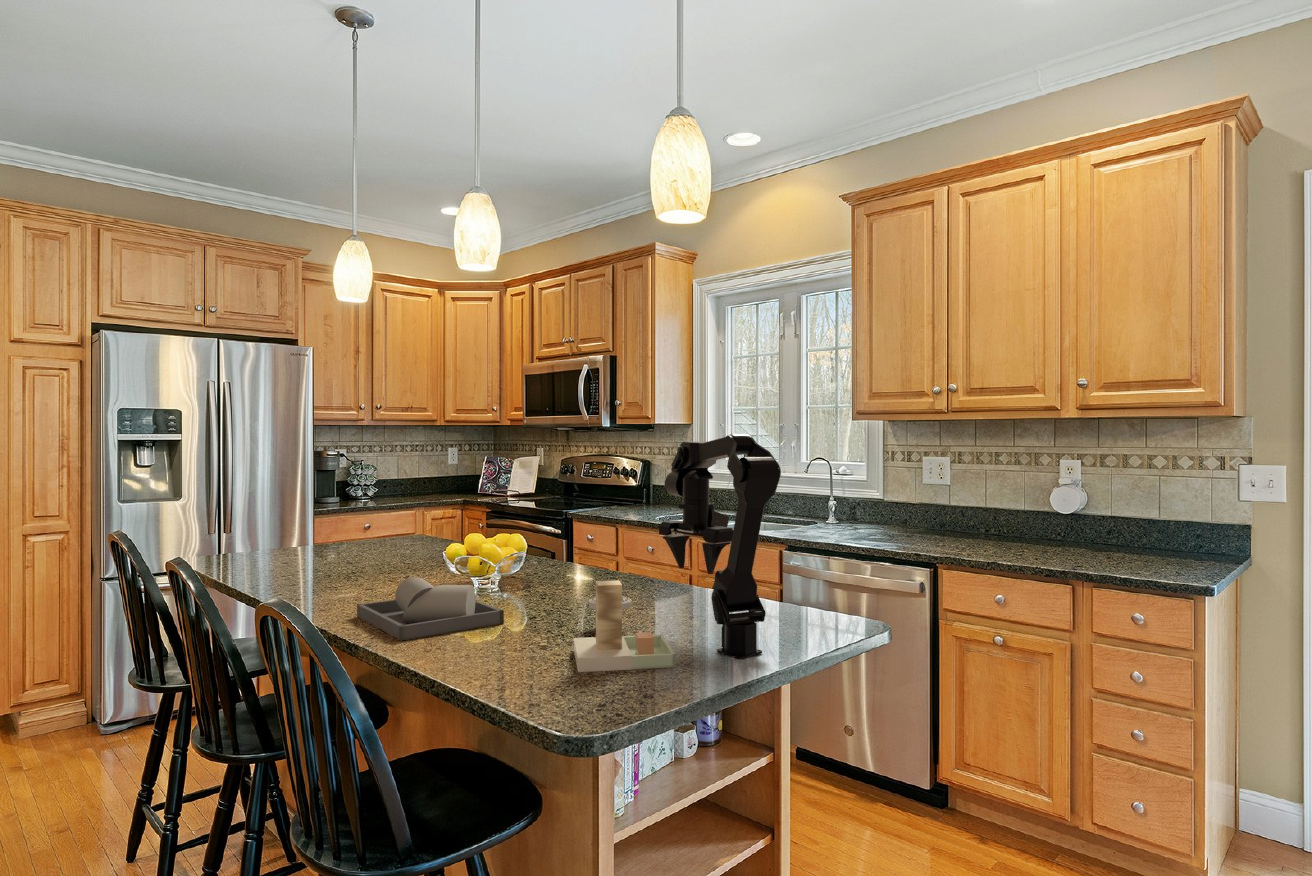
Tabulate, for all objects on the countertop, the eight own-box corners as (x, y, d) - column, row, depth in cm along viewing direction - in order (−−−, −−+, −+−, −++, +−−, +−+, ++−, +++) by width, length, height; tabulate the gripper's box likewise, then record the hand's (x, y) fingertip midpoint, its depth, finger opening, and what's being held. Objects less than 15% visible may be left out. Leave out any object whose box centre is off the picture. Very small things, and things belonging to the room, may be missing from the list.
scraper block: (619, 642, 148) (619, 580, 148) (622, 648, 144) (622, 584, 144) (595, 643, 147) (595, 581, 147) (597, 650, 143) (597, 585, 143)
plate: (623, 648, 153) (623, 636, 153) (632, 669, 139) (632, 655, 139) (573, 650, 151) (573, 638, 151) (577, 672, 138) (577, 658, 138)
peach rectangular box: (635, 653, 148) (650, 653, 149) (638, 659, 144) (653, 658, 145) (635, 633, 148) (650, 632, 149) (638, 638, 144) (653, 637, 145)
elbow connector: (371, 623, 167) (463, 623, 167) (375, 574, 169) (466, 574, 169) (399, 622, 184) (482, 622, 184) (402, 577, 187) (484, 577, 186)
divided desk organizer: (503, 623, 173) (503, 610, 173) (400, 641, 158) (400, 626, 158) (452, 603, 194) (452, 591, 194) (357, 617, 179) (357, 604, 179)
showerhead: (625, 589, 175) (636, 598, 166) (625, 621, 175) (636, 632, 166) (584, 592, 173) (593, 601, 163) (584, 624, 173) (593, 635, 163)
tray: (662, 646, 154) (662, 634, 154) (675, 667, 140) (675, 654, 140) (623, 648, 153) (623, 636, 153) (632, 669, 139) (632, 656, 139)
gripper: (753, 500, 165) (752, 572, 165) (694, 494, 179) (694, 561, 179) (715, 503, 157) (715, 579, 158) (657, 497, 172) (657, 566, 172)
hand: (695, 571), depth 167 cm, fingers open, 9 cm apart
